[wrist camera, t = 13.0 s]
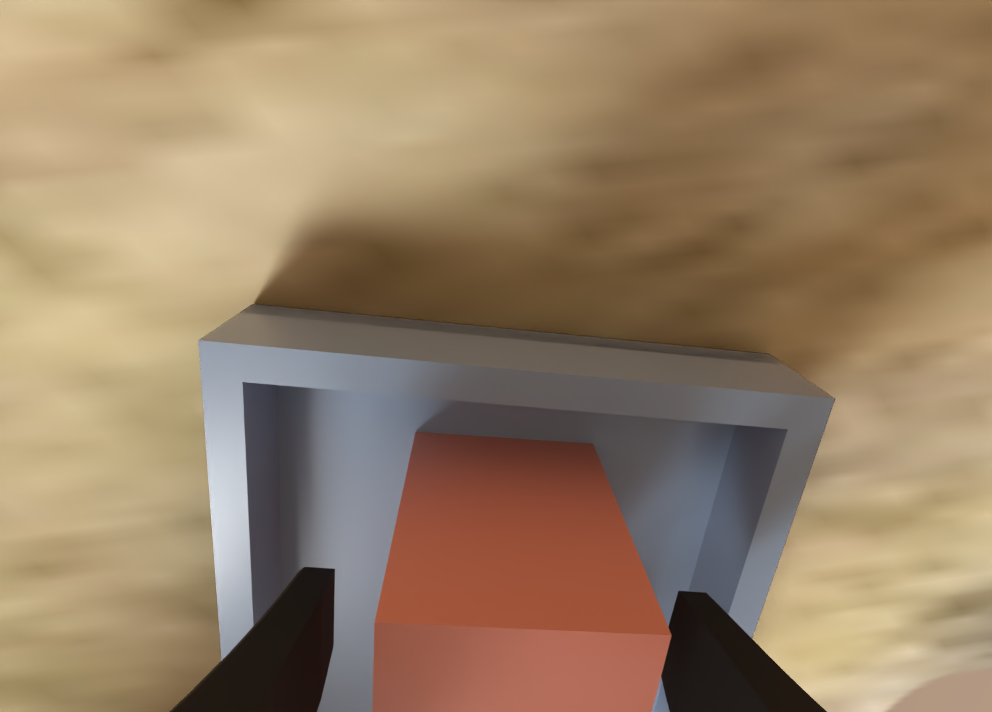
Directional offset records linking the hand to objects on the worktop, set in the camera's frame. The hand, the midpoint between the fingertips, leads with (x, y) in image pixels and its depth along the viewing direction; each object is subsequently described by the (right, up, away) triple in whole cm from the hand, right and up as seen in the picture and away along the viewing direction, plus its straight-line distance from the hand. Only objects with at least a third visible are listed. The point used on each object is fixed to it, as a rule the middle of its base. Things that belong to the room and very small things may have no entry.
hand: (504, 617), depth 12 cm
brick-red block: (0, +1, +3) cm, 3 cm away
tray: (-1, -2, +5) cm, 6 cm away
